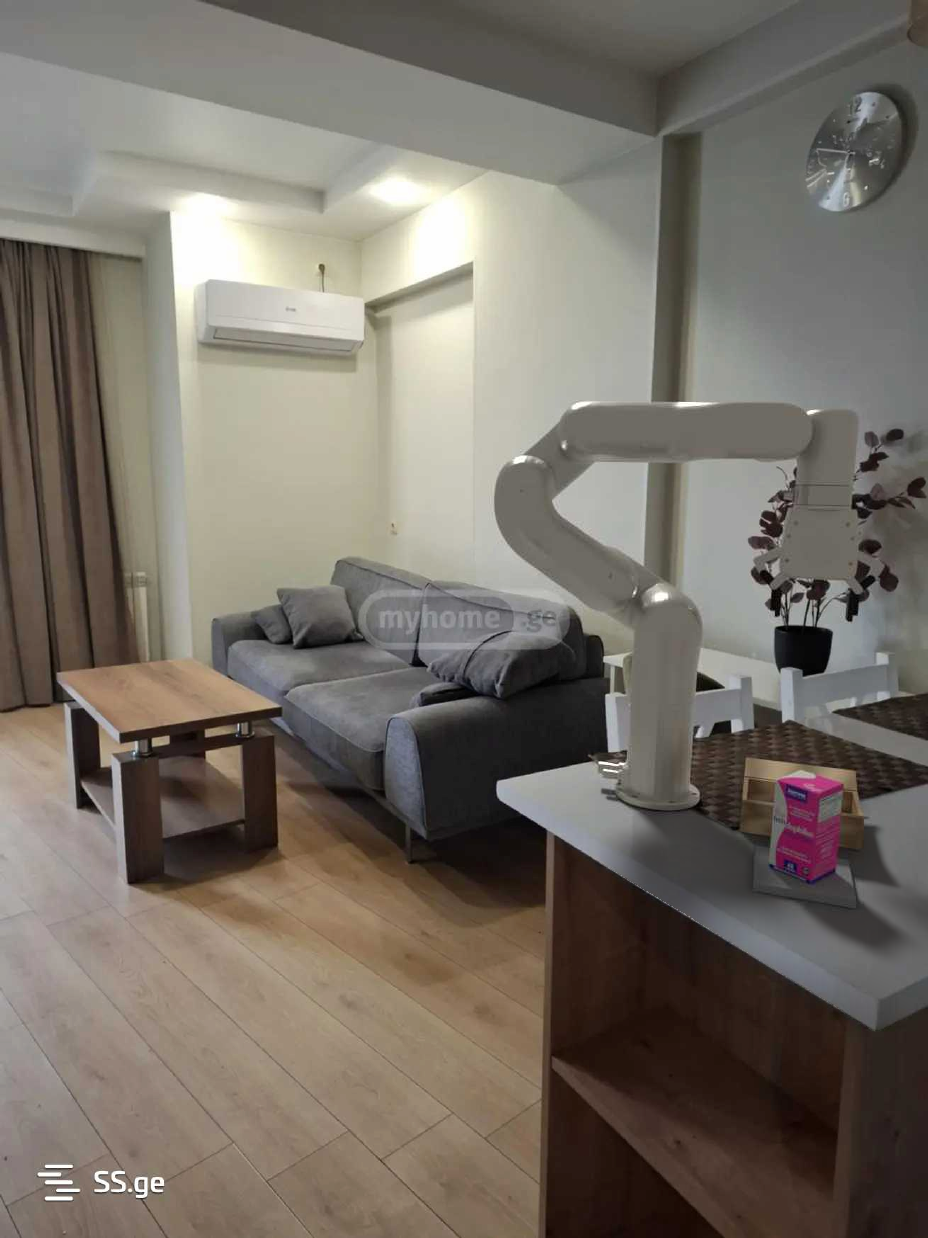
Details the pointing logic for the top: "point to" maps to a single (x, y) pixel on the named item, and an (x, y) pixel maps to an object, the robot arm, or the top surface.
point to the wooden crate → (762, 794)
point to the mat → (824, 890)
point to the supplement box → (806, 826)
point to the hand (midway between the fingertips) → (812, 618)
